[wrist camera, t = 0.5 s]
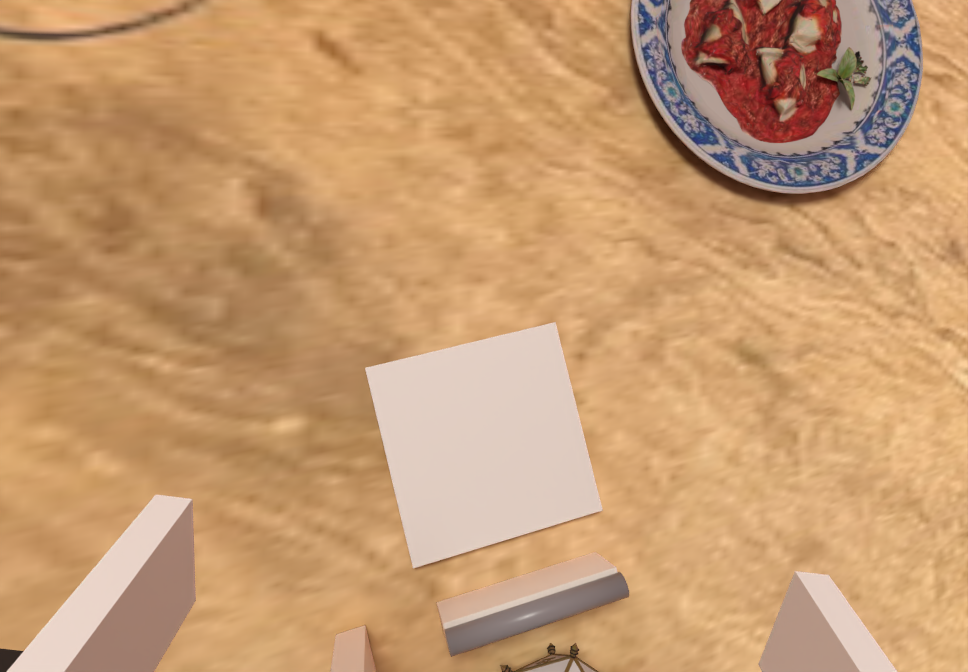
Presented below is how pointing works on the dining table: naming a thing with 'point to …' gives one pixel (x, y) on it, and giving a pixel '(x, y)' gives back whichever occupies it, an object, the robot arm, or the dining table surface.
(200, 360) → the dining table surface
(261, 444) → the dining table surface
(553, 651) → the game die
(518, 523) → the mat
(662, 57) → the ceramic plate
